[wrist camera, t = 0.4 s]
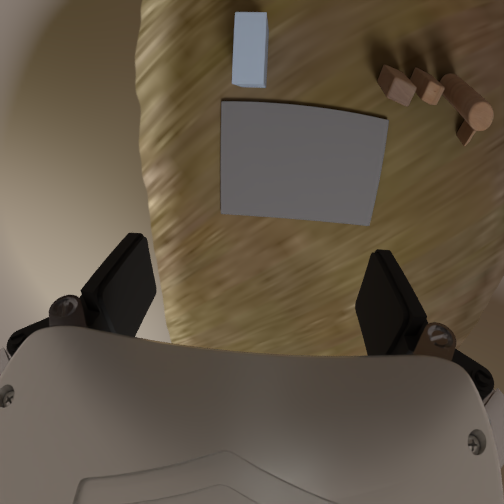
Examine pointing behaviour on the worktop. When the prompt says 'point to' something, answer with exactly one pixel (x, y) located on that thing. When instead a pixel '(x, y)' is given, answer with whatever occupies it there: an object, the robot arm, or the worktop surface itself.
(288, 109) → the mat
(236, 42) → the slab
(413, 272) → the worktop surface
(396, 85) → the wooden block set
